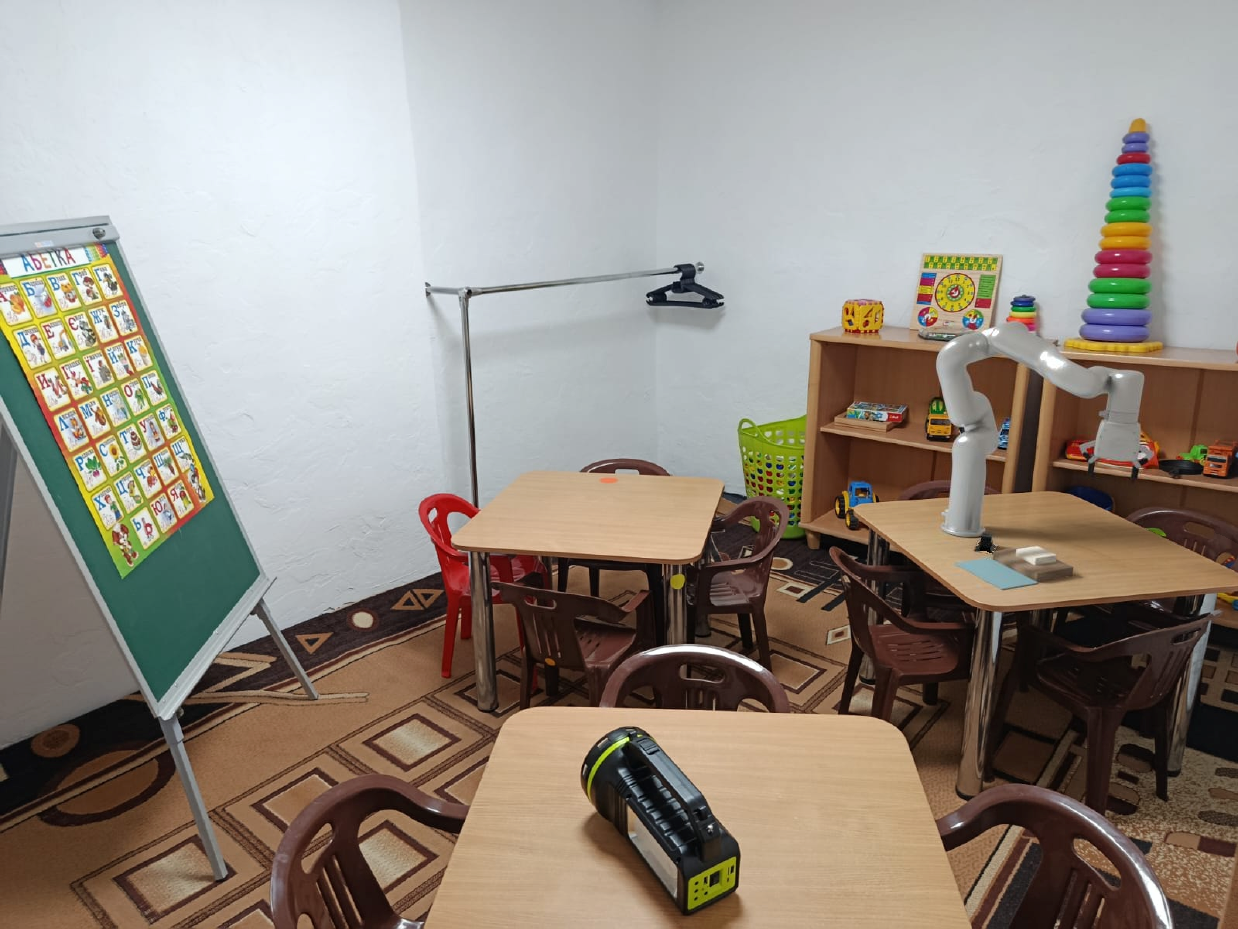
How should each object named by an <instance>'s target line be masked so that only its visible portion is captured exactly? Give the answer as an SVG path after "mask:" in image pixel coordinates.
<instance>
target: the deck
mask: <svg viewBox="0 0 1238 929" xmlns="http://www.w3.org/2000/svg"><path fill="white" fill-rule="evenodd" d="M1027 547H1030V546H1029V545H1028V546H1020V547H1015V548H1008V549H1002V550H996V551H994V552H993V554H992V559H993V560H995V561H997V562H999V563H1001V564H1003V565H1005V566H1007V567H1009V568H1011V569H1012V570H1014V571H1016V572H1018V573H1020V574H1022V575H1024V576H1026V577H1028V578H1030V579H1032V580H1034V581H1036V582H1038V583H1039V582H1044V581H1049V580H1050V581H1051V580H1055V578H1057V579H1062V577H1063V578H1067V577H1066V576H1069V577H1072V576H1073V573H1074V572H1073V571H1074V566H1072V565H1069V564H1067V563H1066V562H1063V561H1061V560H1059V559H1057V558H1056V562H1052V563H1045V564H1039V565H1034V564H1032V563H1029V562H1027V561H1025V560H1023V559H1021V558H1019V557H1017V556H1016V549H1020V548H1027ZM1071 575H1072V576H1071Z"/></svg>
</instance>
